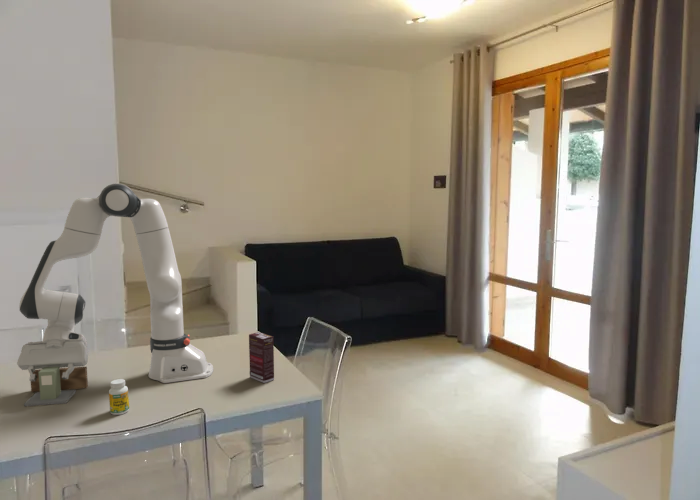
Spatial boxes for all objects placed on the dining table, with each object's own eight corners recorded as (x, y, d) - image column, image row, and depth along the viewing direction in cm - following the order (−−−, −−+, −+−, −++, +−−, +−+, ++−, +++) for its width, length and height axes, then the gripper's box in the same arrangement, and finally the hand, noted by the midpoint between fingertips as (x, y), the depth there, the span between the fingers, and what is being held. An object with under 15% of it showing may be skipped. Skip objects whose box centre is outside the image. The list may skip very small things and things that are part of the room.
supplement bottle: (127, 406, 160) (125, 376, 158) (131, 412, 155) (129, 382, 154) (108, 410, 157) (106, 380, 155) (111, 417, 152) (109, 386, 151)
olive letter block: (61, 393, 168) (59, 366, 166) (55, 398, 163) (53, 371, 162) (46, 394, 167) (44, 367, 166) (40, 400, 162) (38, 372, 161)
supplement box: (275, 379, 181) (274, 336, 179) (264, 383, 178) (263, 339, 176) (260, 373, 187) (259, 331, 185) (249, 377, 184) (248, 334, 182)
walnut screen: (88, 386, 175) (86, 366, 174) (86, 388, 174) (85, 368, 173) (33, 390, 172) (31, 369, 171) (31, 391, 171) (29, 371, 170)
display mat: (75, 391, 171) (75, 389, 170) (66, 403, 162) (66, 400, 162) (36, 394, 168) (36, 392, 168) (24, 406, 160) (24, 403, 159)
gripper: (20, 337, 167) (8, 377, 159) (87, 334, 171) (80, 373, 163) (27, 346, 172) (16, 386, 164) (92, 343, 176) (85, 381, 168)
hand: (48, 379), depth 164 cm, fingers open, 8 cm apart
